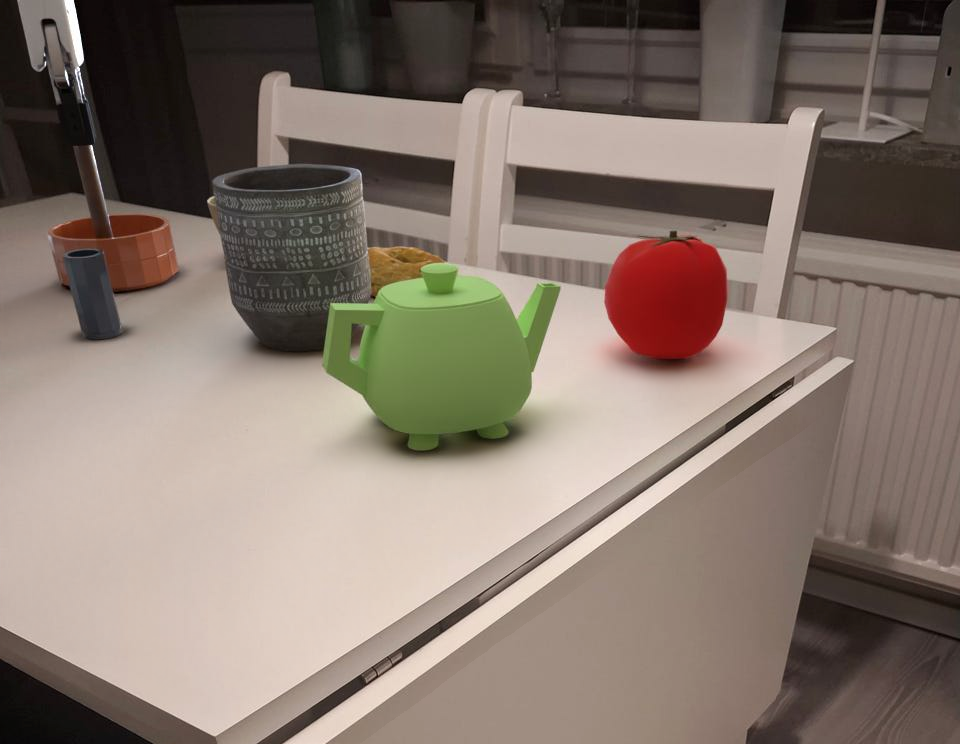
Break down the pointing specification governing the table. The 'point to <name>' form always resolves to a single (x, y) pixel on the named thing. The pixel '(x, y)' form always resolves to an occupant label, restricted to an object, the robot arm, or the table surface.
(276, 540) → the table surface
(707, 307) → the tomato
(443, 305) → the teapot
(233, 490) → the table surface
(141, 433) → the table surface
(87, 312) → the tube
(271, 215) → the planter
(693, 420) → the table surface
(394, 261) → the bagel
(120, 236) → the bowl
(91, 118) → the robot arm
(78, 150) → the stick
